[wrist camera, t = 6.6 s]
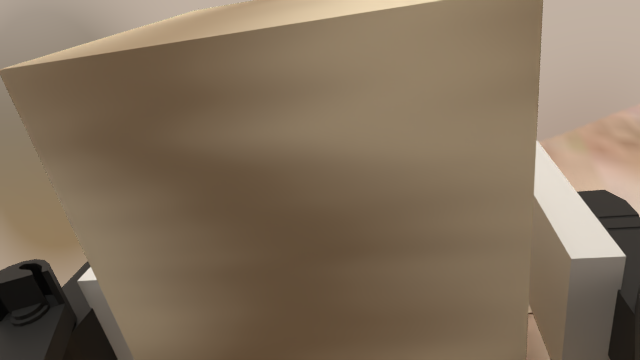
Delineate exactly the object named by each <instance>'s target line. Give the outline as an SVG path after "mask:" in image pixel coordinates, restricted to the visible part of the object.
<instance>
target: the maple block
mask: <svg viewBox="0 0 640 360" xmlns="http://www.w3.org/2000/svg"><path fill="white" fill-rule="evenodd" d="M542 11H543V0H253V1H248V2H242V3H236V4H230V5H224V6H218V7H212V8H206V9H201V10H195V11H191V12H188V13H185V14H181V15H178V16H175V17H171V18H168V19H165V20H162V21H158V22H155V23H152V24H148V25H145V26H142V27H138V28H135V29H132V30H129V31H125V32H122V33H119V34H115V35H112V36H109V37H105V38H102V39H99V40H96V41H92V42H89V43H86V44H83V45H79V46H76V47H73V48H69V49H66V50H63V51H59V52H56V53H53V54H49V55H46V56H43V57H39V58H36V59H33V60H30V61H26V62H23V63H20V64H17V65H13V66H10V67H6V68H3V69H0V75H1V78H2V80H3V82H4V84H5V86H6V88H7V90H8V92H9V95H10V97H11V99H12V101H13V103H14V105H15V107H16V109H17V111H18V114H19V115H20V118H21V120H22V122H23V124H24V126H25V128H26V130H27V133H28V135H29V137H30V139H31V141H32V143H33V145H34V148H35V150H36V152H37V154H38V156H39V158H40V160H41V162H42V165H43V167H44V168H45V171H46V173H47V175H48V177H49V179H50V181H51V183H52V186H53V188H54V190H55V192H56V194H57V196H58V198H59V201H60V203H61V205H62V207H63V209H64V211H65V213H66V215H67V217H68V220H69V222H70V224H71V226H72V228H73V230H74V232H75V235H76V237H77V239H78V241H79V243H80V245H81V247H82V249H83V251H84V254H85V256H86V258H87V260H88V262H89V264H90V266H91V268H92V271H93V273H94V275H95V277H96V279H97V281H98V283H99V285H100V288H101V290H102V292H103V294H104V296H105V298H106V300H107V302H108V305H109V307H110V309H111V311H112V313H113V315H114V317H115V319H116V321H117V324H118V326H119V328H120V330H121V332H122V334H123V336H124V338H125V341H126V343H127V345H128V347H129V349H130V351H131V353H132V355H133V358H134V360H526V348H527V327H528V306H529V285H530V264H531V243H532V222H533V201H534V180H535V159H536V137H537V117H538V96H539V74H540V53H541V33H542V32H541V31H542Z"/></svg>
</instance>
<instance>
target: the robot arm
mask: <svg viewBox="0 0 640 360" xmlns="http://www.w3.org/2000/svg"><path fill="white" fill-rule="evenodd" d="M529 305H530V308H531V310H532V313H533V315H534V318H535V320H536V323H537V326H538V328H539V331H540V333H541V336H542V338H543V341H544V344H545V346H546V349H547V351H548V354H549V356H550V359H551V360H640V217H639V214H638V213H637V212H636V211H635V210H634V209H633V208H632V207H631V206H630V205H629V204H628V202H627V201H625V200H623V199H622V198H620V197H618V196H616V195H614V194H612V193H610V192H608V191H606V190H595V191H581V192H576V190H575V189H574V188H573V186H572V185H571V184H570V183H569V181H568V180H567V179H566V177H565V176H564V175H563V173H562V172H561V171H560V170H559V168H558V167H557V166H556V164H555V163H554V162H553V160H552V159H551V158H550V157H549V155H548V154H547V153H546V151H545V150H544V149H543V147H542V146H541V145H540V144H539V142H538V141H537V140H536V159H535V180H534V201H533V222H532V243H531V264H530V285H529ZM0 360H134V358H133V355H132V353H131V351H130V349H129V347H128V345H127V343H126V341H125V338H124V336H123V334H122V332H121V330H120V328H119V326H118V324H117V321H116V319H115V317H114V315H113V313H112V311H111V309H110V307H109V305H108V302H107V300H106V298H105V296H104V294H103V292H102V290H101V288H100V285H99V283H98V281H97V279H96V277H95V275H94V273H93V271H92V268H91V266H90V264H89V262H87V263H85V264H84V265H83V266H82V267H81V269H79V271H78V272H77V273H76V274H75V275H74V276H73V277H72V278H71V279H70V280H69V281H68V282H67V283H66V284H65V285H64V286H63V287H62V288H61V286H60V284H59V282H58V280H57V278H56V276H55V274H54V272H53V270H52V269H51V267H50V265H49V263H47V262H46V261H45V260H37V259H34V260H29V261H23V262H21V263H18V264H15V265H12V266H9V267H7V268H5V269H3V270H1V271H0Z"/></svg>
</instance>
